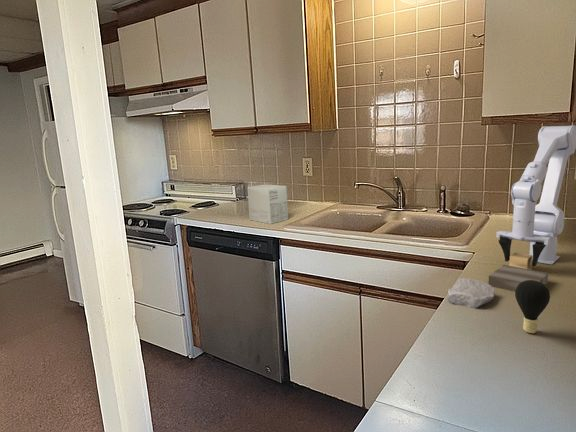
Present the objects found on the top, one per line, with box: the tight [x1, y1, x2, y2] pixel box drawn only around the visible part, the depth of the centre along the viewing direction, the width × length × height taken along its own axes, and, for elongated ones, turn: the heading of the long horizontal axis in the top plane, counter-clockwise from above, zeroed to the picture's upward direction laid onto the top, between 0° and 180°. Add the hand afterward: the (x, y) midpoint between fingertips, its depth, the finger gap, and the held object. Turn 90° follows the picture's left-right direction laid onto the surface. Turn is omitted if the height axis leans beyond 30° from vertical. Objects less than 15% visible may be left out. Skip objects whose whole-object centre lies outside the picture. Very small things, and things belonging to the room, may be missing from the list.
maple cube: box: [508, 252, 533, 270], centre depth 131 cm, size 5×5×5 cm
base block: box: [487, 264, 549, 292], centre depth 120 cm, size 12×12×3 cm
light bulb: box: [514, 280, 551, 334], centre depth 93 cm, size 7×7×12 cm
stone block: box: [447, 277, 495, 309], centre depth 112 cm, size 12×5×10 cm
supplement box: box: [247, 183, 289, 225], centre depth 220 cm, size 17×13×18 cm
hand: (520, 263), depth 130 cm, fingers open, 7 cm apart
